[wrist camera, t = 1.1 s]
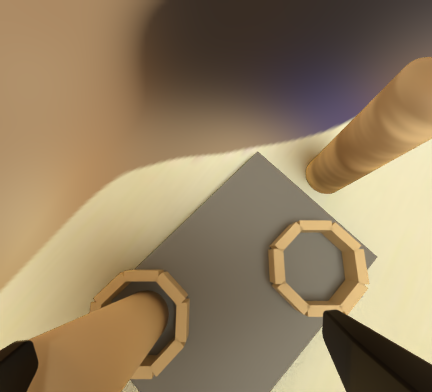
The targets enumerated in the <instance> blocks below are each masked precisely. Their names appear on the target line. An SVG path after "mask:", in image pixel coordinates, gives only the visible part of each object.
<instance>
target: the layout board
mask: <svg viewBox="0 0 432 392" xmlns="http://www.w3.org/2000/svg"><path fill="white" fill-rule="evenodd" d="M376 258H377V256H376V255H375V254H373V253H372V252H371V251H370V250H369V249H368V248H367V247H365V246H364V245H363V244H362V243H361V242H360V241H359V240H358V239H356V238H355V237H354V236H353V235H352V234H351V233H350V232H349V231H347V230H346V229H345V228H344V227H343V226H342V225H341V224H339V223H338V222H337V221H336V220H335V219H334V218H333V217H332V216H330V215H329V214H328V213H327V212H326V211H325V210H324V209H322V208H321V207H320V206H319V205H318V204H317V203H316V202H315V201H313V200H312V199H311V198H310V197H309V196H308V195H307V194H305V193H304V192H303V191H302V190H301V189H300V188H299V187H298V186H296V185H295V184H294V183H293V182H292V181H291V180H290V179H288V178H287V177H286V176H285V175H284V174H283V173H282V172H281V171H279V170H278V169H277V168H276V167H275V166H274V165H273V164H271V163H270V162H269V161H268V160H267V159H266V158H265V157H264V156H262V155H261V154H260V153H259V152H257V153H255V154H254V155H253V156H252V157H251V158H250V159H249V160H248V161H247V162H246V163H245V164H244V165H243V166H242V167H241V168H240V169H239V170H238V171H237V172H236V173H235V174H234V175H232V176H231V177H230V178H229V179H228V180H227V181H226V182H225V183H224V184H223V185H222V186H221V187H220V188H219V189H218V190H217V191H216V192H215V193H214V194H213V195H212V196H211V197H209V198H208V199H207V200H206V201H205V202H204V203H203V204H202V205H201V206H200V207H199V208H198V209H197V210H196V211H195V212H194V213H193V214H192V215H191V216H190V217H189V218H188V219H187V220H185V221H184V222H183V223H182V224H181V225H180V226H179V227H178V228H177V229H176V230H175V231H174V232H173V233H172V234H171V235H170V236H169V237H168V238H167V239H166V240H165V241H164V242H162V243H161V244H160V245H159V246H158V247H157V248H156V249H155V250H154V251H153V252H152V253H151V254H150V255H149V256H148V257H147V258H146V259H145V260H144V261H143V262H142V263H141V264H139V265H138V266H137V267H136V268H135V269H134V270H127V271H124V272H120V273H119V274H118V275H117V276H116V277H115V278H114V279H113V280H112V281H111V282H110V283H109V284H108V285H107V286H106V287H105V288H104V289H102V290H101V291H100V292H99V293H98V294H97V295H96V296H95V297H94V298H93V299H94V300H95V301H94V302H91V306H90V312H89V313H88V314H87V315H84V316H82V317H80V318H77V319H75V320H73V321H70V322H68V323H66V324H64V325H61V326H59V327H57V328H54V329H52V330H50V331H47V332H45V333H43V334H41V335H38V336H36V337H34V338H31V339H29V340H31V341H32V342H33V344H34V347H35V351H36V354H37V358H38V362H39V364H38V369H37V372H36V374H35V376H34V378H33V380H32V382H31V384H30V386H29V388H28V390H27V392H121V391H122V390H123V388H124V387H125V385H126V384H127V383H128V381H129V380H131V381H132V382H133V384H134V385H135V386H136V388H137V389H138V390H139V391H140V392H270V391H271V390H272V388H273V387H274V386H275V385H276V383H277V382H278V381H279V380H280V378H281V377H282V376H283V375H284V373H285V372H286V371H287V370H288V368H289V367H290V366H291V365H292V363H293V362H294V361H295V360H296V358H297V357H298V356H299V355H300V353H301V352H302V351H303V350H304V348H305V347H306V346H307V345H308V343H309V342H310V341H311V340H312V338H313V337H314V336H315V335H316V333H317V332H318V331H319V330H320V328H321V327H322V326H323V312H324V311H325V310H334V309H336V310H339V311H341V312H343V313H344V314H346V315H348V314H349V312H350V311H351V310H352V309H353V307H354V306H355V305H356V303H357V302H358V301H359V300H360V298H361V297H362V296H363V294H364V293H365V292H366V291H367V289H368V288H367V287H366V286H365V285H364V284H369V279H368V273H367V269H368V268H369V267H370V266H371V264H372V263H373V262H374V261H375V259H376Z"/></svg>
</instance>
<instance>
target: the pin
mask: <svg viewBox="0 0 432 392" xmlns="http://www.w3.org/2000/svg"><path fill="white" fill-rule="evenodd" d="M430 139H432V57H424V58H419V59H416V60H414V61H412V62H410V63H409V64H408V65H407V66H405V67H404V69H402V71H400V73H399V74H398V75H397V76H396V77H395V78H394V79H393V80H392V81H391V82H390V83H389V84H388V85H387V86H386V87H385V88H384V89H383V90H382V91H381V92H380V93H379V94H378V95H377V96H376V97H375V98H374V99H373V100H372V101H371V102H370V103H369V104H368V105H367V106H366V107H365V108H364V109H363V110H362V111H361V112H360V113H359V114H358V115H357V116H356V117H355V118H354V119H353V120H352V121H351V122H350V123H349V124H348V125H347V126H346V127H345V128H344V129H343V130H342V131H341V132H340V133H339V134H338V135H337V136H336V137H335V138H334V139H333V140H332V141H331V142H330V143H329V144H328V145H327V146H326V147H325V148H324V149H323V150H322V151H321V152H320V153H319V154H318V155H317V156H316V157H315V158H314V159H313V160H312V161H311V162H310V163H309V165H308V166H307V169H306V179H307V181H308V183H309V185H310V186H311V187H312V188H313V189H314V190H316V191H318V192H320V193H324V194H330V193H334V192H336V191H338V190H340V189H342V188H343V187H345V186H347V185H349V184H351V183H352V182H354V181H356V180H358V179H360V178H362V177H363V176H365V175H367V174H369V173H371V172H372V171H374V170H376V169H378V168H380V167H381V166H383V165H385V164H387V163H389V162H390V161H392V160H394V159H396V158H398V157H399V156H401V155H403V154H405V153H407V152H408V151H410V150H412V149H414V148H416V147H417V146H419V145H421V144H423V143H425V142H426V141H428V140H430Z"/></svg>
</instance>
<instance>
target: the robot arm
mask: <svg viewBox="0 0 432 392" xmlns="http://www.w3.org/2000/svg"><path fill="white" fill-rule="evenodd" d="M322 334H323V339H324V341H325V344H326V346H327V348H328V351H329V353H330V355H331V358H332V360H333V362H334V365H335V367H336V369H337V372H338V374H339V376H340V378H341V381H342V383H343V385H344V388H345V390H346V392H432V364H430V363H428V362H426V361H425V360H423V359H421V358H420V357H418V356H416V355H414V354H413V353H411V352H409V351H408V350H406V349H404V348H402V347H401V346H399V345H397V344H396V343H394V342H392V341H391V340H389V339H387V338H385V337H384V336H382V335H380V334H379V333H377V332H375V331H373V330H372V329H370V328H368V327H367V326H365V325H363V324H361V323H360V322H358V321H356V320H355V319H353V318H351V317H349V316H348V315H346V314H344V313H343V312H341V311H339V310H336V309H334V310H325V311H324V312H323V328H322ZM38 364H39V362H38V358H37V354H36V351H35V347H34V344H33V342H32V341H31V340H22V341H16V342H14V343H12V344H10V345H8V346H7V347H5V348H4V349H2V350H0V392H27V390H28V388H29V386H30V384H31V382H32V380H33V378H34V376H35V374H36V372H37V369H38Z"/></svg>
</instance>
